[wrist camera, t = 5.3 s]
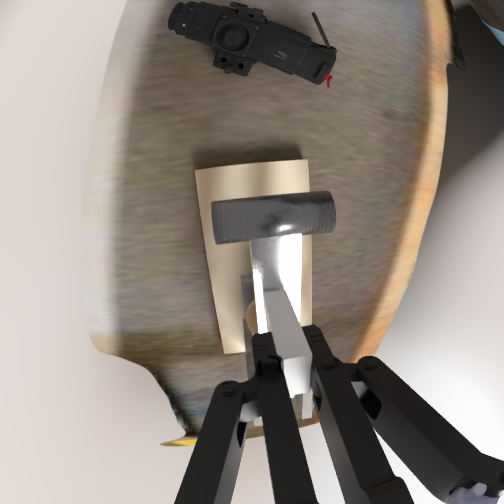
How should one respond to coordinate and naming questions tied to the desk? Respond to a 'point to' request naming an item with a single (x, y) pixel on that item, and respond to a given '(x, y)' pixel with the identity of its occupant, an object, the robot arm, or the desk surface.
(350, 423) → the robot arm
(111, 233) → the desk surface
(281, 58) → the night vision scope
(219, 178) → the press base
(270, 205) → the lever
